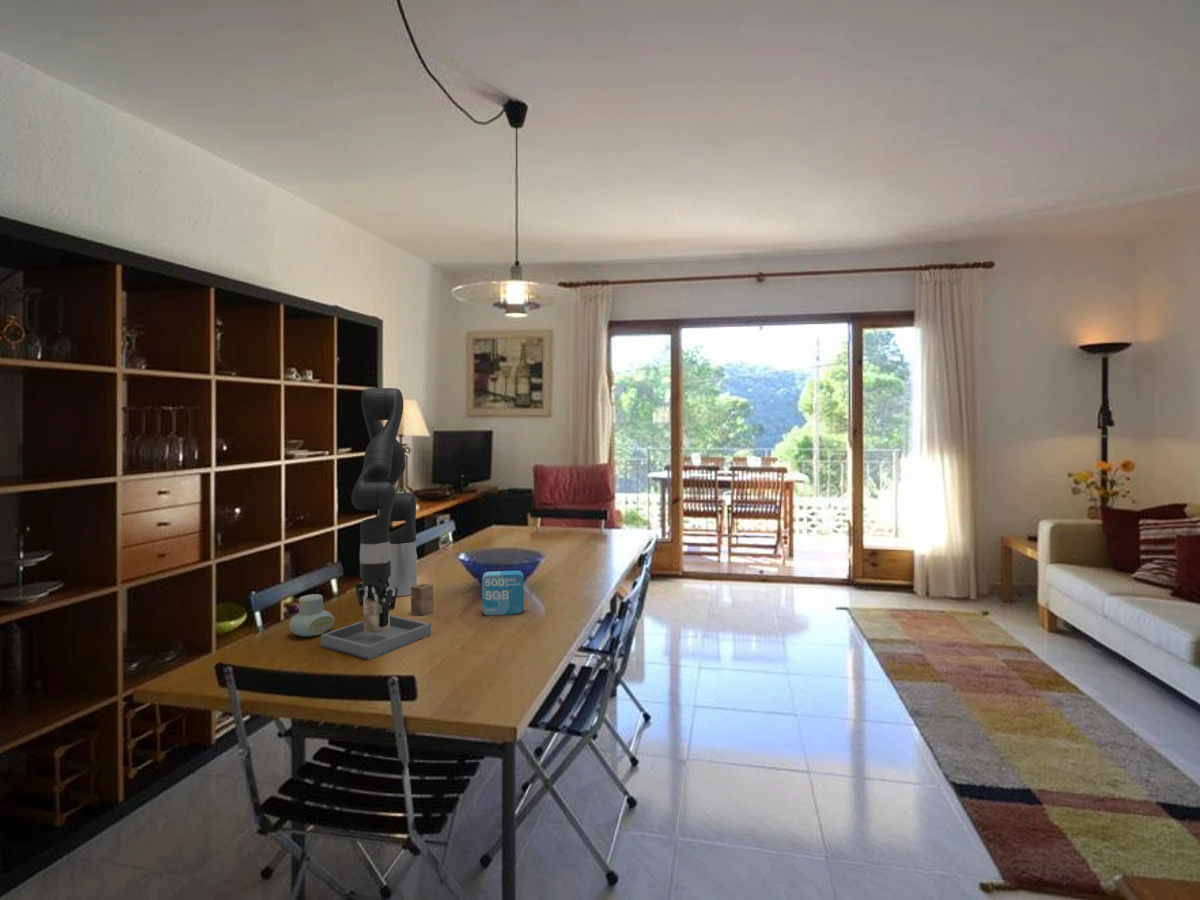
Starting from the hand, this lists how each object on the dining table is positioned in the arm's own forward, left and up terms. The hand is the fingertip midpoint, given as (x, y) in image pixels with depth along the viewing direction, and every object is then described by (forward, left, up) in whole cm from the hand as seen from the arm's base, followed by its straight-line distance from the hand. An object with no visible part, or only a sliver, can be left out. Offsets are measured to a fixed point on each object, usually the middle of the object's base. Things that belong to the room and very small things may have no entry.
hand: (376, 624), depth 163 cm
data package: (+13, +35, -5) cm, 38 cm away
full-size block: (-8, +23, -4) cm, 25 cm away
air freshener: (-20, -5, -5) cm, 21 cm away
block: (0, 0, -1) cm, 1 cm away
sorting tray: (0, 0, -4) cm, 4 cm away
